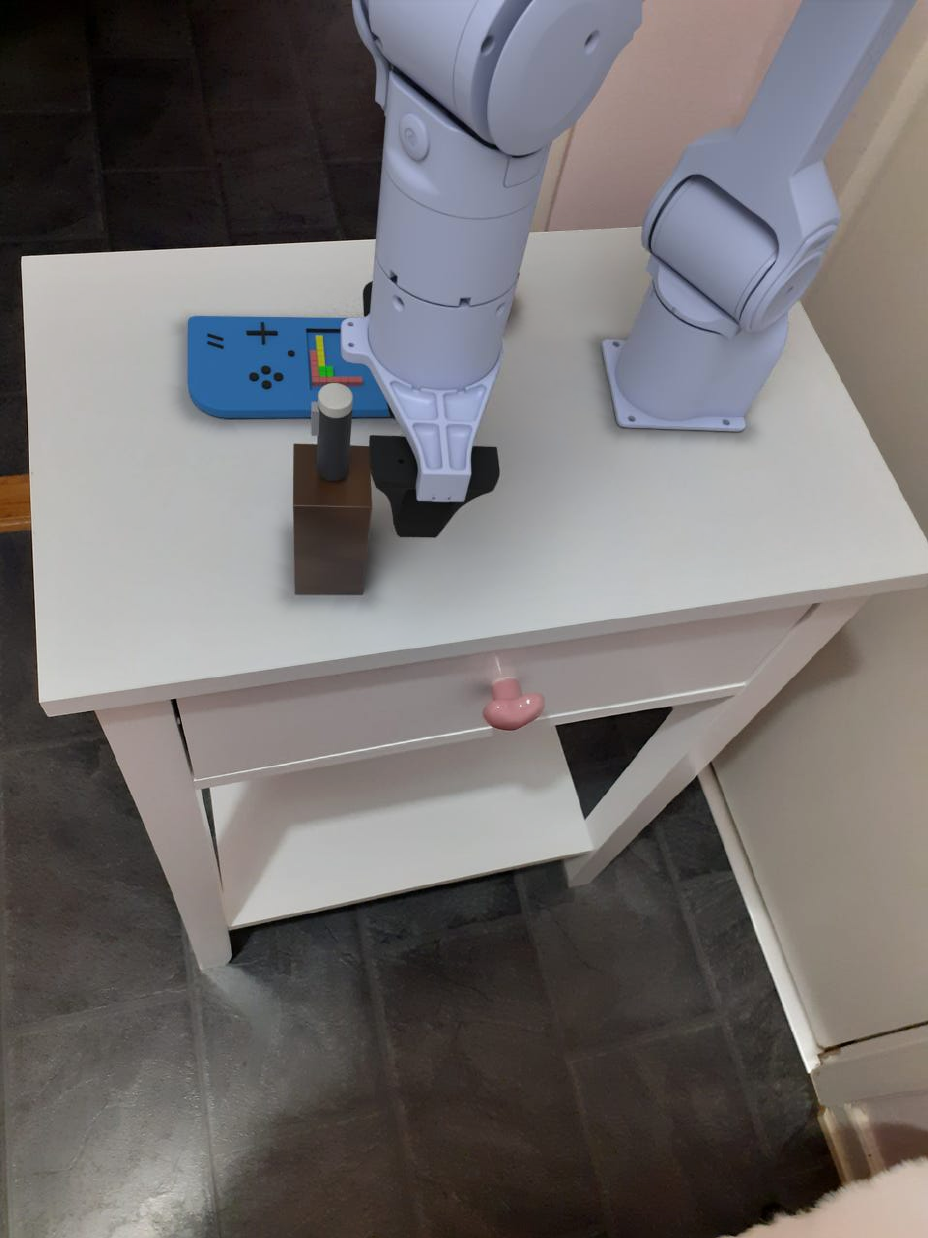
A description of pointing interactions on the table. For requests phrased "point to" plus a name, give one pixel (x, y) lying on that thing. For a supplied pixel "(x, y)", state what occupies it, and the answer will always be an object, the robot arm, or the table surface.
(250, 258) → the table surface
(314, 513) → the tall brown box
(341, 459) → the stylus
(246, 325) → the handheld gaming device
